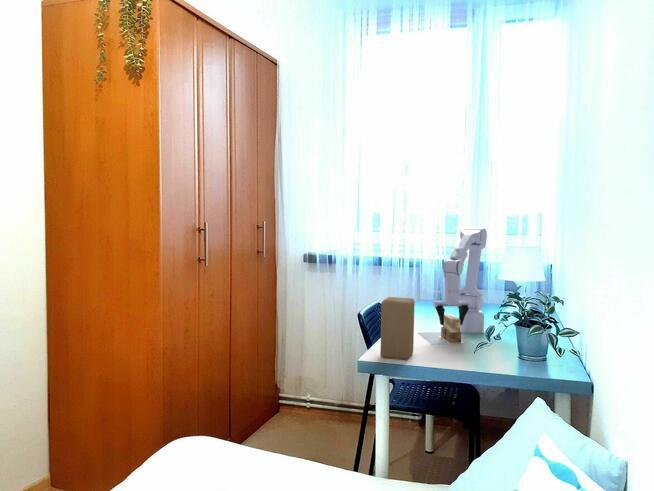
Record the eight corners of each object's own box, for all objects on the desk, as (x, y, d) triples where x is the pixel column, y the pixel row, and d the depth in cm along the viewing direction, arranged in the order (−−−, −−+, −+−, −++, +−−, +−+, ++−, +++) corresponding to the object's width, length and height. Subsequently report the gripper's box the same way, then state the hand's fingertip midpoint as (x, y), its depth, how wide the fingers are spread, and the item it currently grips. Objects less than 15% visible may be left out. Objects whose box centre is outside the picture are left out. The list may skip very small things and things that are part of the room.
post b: (457, 339, 223) (457, 329, 222) (461, 342, 218) (461, 332, 218) (446, 340, 222) (446, 330, 222) (449, 342, 218) (450, 332, 217)
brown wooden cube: (451, 336, 228) (452, 326, 228) (455, 339, 224) (456, 329, 224) (441, 336, 228) (441, 326, 228) (444, 339, 223) (445, 329, 223)
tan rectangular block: (451, 326, 228) (451, 314, 228) (460, 332, 218) (460, 319, 218) (442, 326, 227) (443, 314, 227) (451, 332, 218) (451, 319, 217)
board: (454, 332, 237) (454, 332, 237) (472, 344, 217) (472, 343, 217) (416, 333, 235) (416, 332, 235) (431, 345, 215) (431, 344, 215)
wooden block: (413, 353, 202) (415, 298, 201) (408, 360, 193) (409, 302, 191) (386, 351, 205) (387, 296, 204) (379, 358, 196) (380, 300, 194)
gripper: (437, 291, 217) (436, 326, 218) (474, 291, 219) (472, 326, 220) (431, 289, 224) (431, 323, 225) (467, 288, 226) (466, 322, 227)
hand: (451, 324), depth 223 cm, fingers open, 7 cm apart
